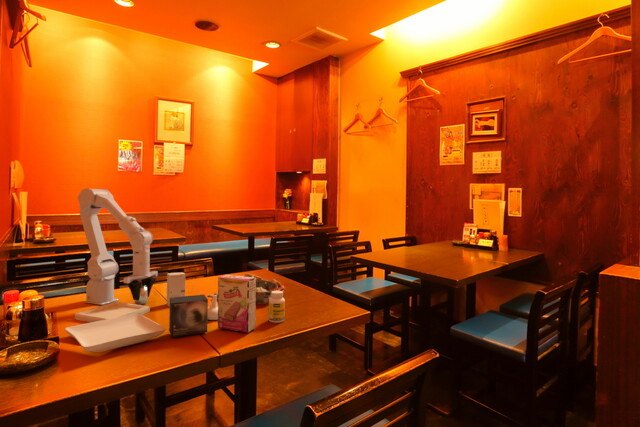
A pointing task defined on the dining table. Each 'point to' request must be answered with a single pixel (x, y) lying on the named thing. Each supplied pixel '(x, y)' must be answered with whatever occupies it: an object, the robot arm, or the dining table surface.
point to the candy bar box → (236, 303)
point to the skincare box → (175, 285)
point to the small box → (188, 315)
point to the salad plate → (115, 332)
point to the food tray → (263, 289)
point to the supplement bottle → (276, 307)
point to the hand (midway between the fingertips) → (141, 298)
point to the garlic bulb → (213, 309)
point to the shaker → (143, 295)
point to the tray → (111, 311)
